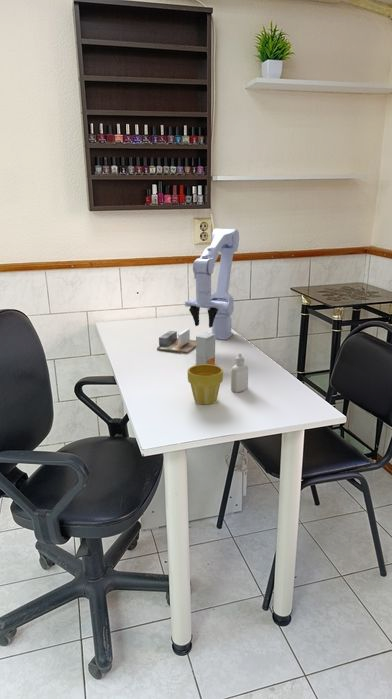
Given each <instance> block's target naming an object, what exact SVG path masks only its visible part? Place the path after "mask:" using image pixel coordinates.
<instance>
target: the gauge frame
mask: <svg viewBox="0 0 392 699" xmlns="http://www.w3.org/2000/svg"><path fill="white" fill-rule="evenodd" d="M177 332H178V331H176V330H169V331H168V332H166V333H163V335H161V336H159V337H158V346H157V347H156V351H163V352H169V353H170V352H171V353H179V354H186V355H187V354H190V353H191V352H192V351H193V350H194V349H195V350H196V339H190V341H188V342H187V343H186V344H184V345H183V346H180V347H179V348H177V349H175V347H177V346H178V333H177Z"/></svg>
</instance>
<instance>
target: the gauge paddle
mask: <svg viewBox="0 0 392 699" xmlns="http://www.w3.org/2000/svg"><path fill="white" fill-rule="evenodd" d="M190 333H191V332H190V328H186V329H184V330H183V331H181V332H179V333H177V338H178V346H177V347H175V349H177V348H179V347H180V346H183V345H184V344H186V343H187V342H188V341H190V340H191V338H190V337H191V336H190Z"/></svg>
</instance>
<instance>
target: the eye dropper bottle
mask: <svg viewBox="0 0 392 699" xmlns="http://www.w3.org/2000/svg"><path fill="white" fill-rule="evenodd" d="M230 372H231V374H230V383H231V384H230V390H231V392H233V393H242V392H245V391H246V390H248V388H249V366H248V365H247V364H246V363H245V357H244V356H242V353H241V352H239V353H238V356H236V357H235V364H234V365H233V366H232V367H231V371H230Z"/></svg>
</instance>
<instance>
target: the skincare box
mask: <svg viewBox="0 0 392 699" xmlns="http://www.w3.org/2000/svg"><path fill="white" fill-rule="evenodd" d="M195 340H196V348H195V365H200V364H211V365H216V338H215V334H212V332H204V333H200V334H199V335H196V336H195Z"/></svg>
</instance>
